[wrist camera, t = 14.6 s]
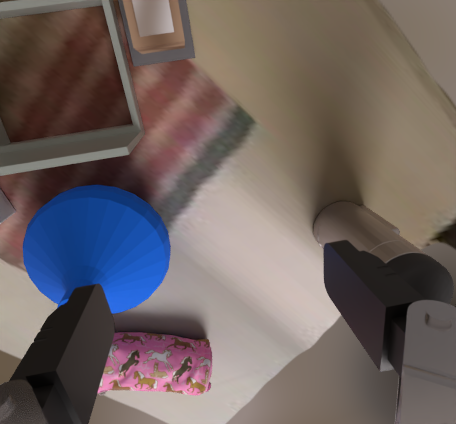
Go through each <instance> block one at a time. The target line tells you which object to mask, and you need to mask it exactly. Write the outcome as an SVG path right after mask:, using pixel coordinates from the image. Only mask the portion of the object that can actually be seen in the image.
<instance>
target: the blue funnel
mask: <svg viewBox="0 0 456 424" xmlns="http://www.w3.org/2000/svg"><path fill="white" fill-rule="evenodd" d="M23 258H24V265H25V267H26V270H27V272H28V275H29V277H30V279H31V280H32V281H33V283H34V284H35V285H36V287H37V288H38V289H39V290H40V292H42V293H43V294H44V295H45V296H47V297H48V298H49V299H51V300H52V301H53V302H55V303H57V304H59V305H58V307H59V306H60V305H64V304H66V303H67V301H68V299H69V297H70V296H71V294H72V292H73V290H74V289H75V288H76V287H81V286H87V285H92V284H100V285H101V286H102V288H103V290H104V293H105V296H106V299H107V302H108V304H109V307H110V310H111V313H112V314H113V313H120V312H123V311H126V310H128V309H131V308H133V307H136V306H137V305H139V304H140V303H142V302H143V301H145V300H146V299H148V298H149V297H150V296H151V294H152V293H153V292H154V291H155V290H156V289H157V288H158V286H159V285H160V284H161V283H162V281H163V279H164V277H165V275H166V273H167V270H168V267H169V260H170V241H169V235H168V231H167V229H166V227H165V225H164V223H163V221H162V219H161V217H160V216H159V215H158V213H157V212H156V211H155V210H154V209H153V208H152V207H151V206H150V204H148V203H147V202H145V201H144V200H142V199H141V198H139V197H138V196H136V195H135V194H133V193H130V192H128V191H125V190H122V189H120V188H117V187H111V186H103V185H88V186H79V187H75V188H72V189H70V190H67V191H65V192H62V193H60V194H58V195H57V196H56V197H54V198H53V199H52V200H50V201H49V202H48V203H46V204H45V205H44V206H43V207H41V208H40V209H39V210H38V211H37V212H36V214H35V215H34V217H33V218H32V220H31V221H30V222H29V224H28V227H27V230H26V234H25V238H24V242H23ZM58 307H57V308H58Z"/></svg>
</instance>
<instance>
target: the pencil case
mask: <svg viewBox="0 0 456 424" xmlns="http://www.w3.org/2000/svg"><path fill="white" fill-rule="evenodd" d="M211 373H212V351H211V347H210V342H209V340H208V339H201V340H192V339H188V338H182V337H178V336H173V335H162V334H153V333H145V332H119V333H114V338H113V342H112V345H111V348H110V352H109V355H108V359H107V362H106V365H105V369H104V372H103V376H102V379H101V382H100V386H99V389H98V393H99V395H104V394H105V393H106V392H107V391H108V390H136V391H163V392H177V393H182V394H189V395H200V394H202V393H204V392H207V391H209V390H210V388H211V383H210V382H209V380H210V377H211Z"/></svg>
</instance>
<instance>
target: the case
mask: <svg viewBox="0 0 456 424" xmlns="http://www.w3.org/2000/svg"><path fill="white" fill-rule="evenodd" d="M102 5H103V8H104V12H105V16H106V20H107V24H108V28H109V32H110V36H111V40H112V44H113V48H114V52H115V56H116V60H117V64H118V67H119V71H120V75H121V79H122V83H123V87H124V91H125V95H126V99H127V103H128V107H129V111H130V115H131V119H132V123H133V124H128V125H121V126H115V127H109V128H102V129H96V130H90V131H83V132H77V133H70V134H64V135H58V136H51V137H45V138H39V139H32V140H26V141H20V142H13V143H11V142H10V140H9V138H8V135H7V133H6V130H5V128H4V126H3V123H2V121H1V119H0V176H2V175H8V174H14V173H20V172H26V171H32V170H39V169H45V168H51V167H57V166H63V165H69V164H75V163H81V162H87V161H94V160H100V159H106V158H112V157H118V156H124V155H129V154H130V153H131V151H132V150H133V149H134V148H135V146H136V145H137V144H138V142H139V141H140V140H141V138H142V137H143V136H144V135H145V131H144V127H143V123H142V119H141V115H140V111H139V106H138V102H137V98H136V94H135V90H134V86H133V82H132V78H131V73H130V69H129V65H128V61H127V57H126V53H125V49H124V44H123V40H122V36H121V32H120V28H119V24H118V20H117V15H116V11H115V7H114V3H113V0H16V1H8V2H0V19H2V18H10V17H17V16H25V15H33V14H40V13H48V12H56V11H63V10H71V9H79V8H87V7H94V6H102Z"/></svg>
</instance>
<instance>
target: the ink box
mask: <svg viewBox="0 0 456 424" xmlns="http://www.w3.org/2000/svg"><path fill="white" fill-rule="evenodd" d="M15 212H16V211H15V209H14V208H13V206H12V205H11V203H10V202H9V200H8V199H7V198H6V196H5V195H4V193H3V192H2V190H1V189H0V224H1V223H2V222H3V221H4V220H6V219H7V218H8V217H10V216H11V215H12V214H14V213H15Z"/></svg>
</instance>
